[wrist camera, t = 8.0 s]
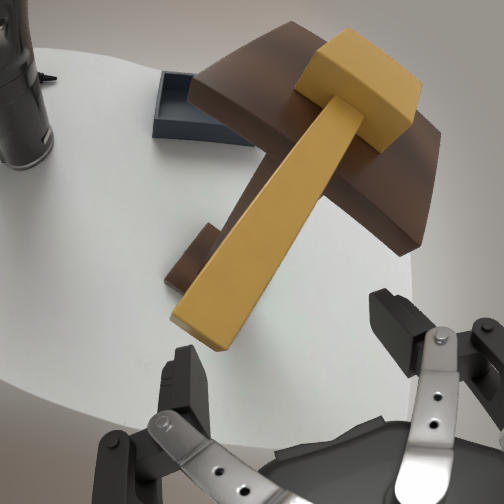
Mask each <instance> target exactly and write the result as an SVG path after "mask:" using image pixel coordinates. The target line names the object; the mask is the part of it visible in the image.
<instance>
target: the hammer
mask: <svg viewBox="0 0 504 504" xmlns="http://www.w3.org/2000/svg"><path fill="white" fill-rule="evenodd" d="M421 87H422V83H421V82H420V81H419V80H418V79H416V78H415V77H414V76H413V75H412V74H411V73H409V72H408V71H407V70H405V68H403V67H402V66H401V65H400V64H398V63H397V62H396V61H394V60H393V59H392V58H391V57H389V56H388V55H387V54H386V53H384V52H383V51H382V50H380V49H379V48H378V47H376V46H375V45H373V44H372V43H370V42H369V41H368V40H366V39H365V38H363V37H362V36H360V35H359V34H358V33H356V32H355V31H353V30H351V29H350V28H347V29H345V30H344V31H342V32H341V33H340V34H338V35H337V36H336V37H334V38H333V39H331V40H330V41H329V42H327V43H326V44H325V45H323V46H322V47H321V48H319V49H318V50H317V51H316V52H315V54H314V55H313V57H312V59H311V60H310V62H309V64H308V65H307V67H306V69H305V70H304V72H303V74H302V75H301V77H300V79H299V80H298V82H297V84H296V85H295V87H294V89H295V90H296V91H297V92H299V93H300V94H302V95H303V96H305V97H306V98H308V99H309V100H311V101H312V102H314V103H315V104H316V105H318V106H319V107H321V108H322V109H323V110H322V112H321V113H320V114H319V115H318V117H317V118H316V119H315V121H314V122H313V123H312V124H311V126H310V127H309V128H308V129H307V131H306V132H305V133H304V135H303V136H302V137H301V138H300V140H299V141H298V142H297V144H296V145H295V146H294V147H293V149H292V150H291V151H290V153H289V154H288V155H287V156H286V158H285V159H284V160H283V162H282V163H281V164H280V166H279V167H278V168H277V170H276V171H275V172H274V173H273V175H272V176H271V177H270V179H269V180H268V181H267V183H266V184H265V185H264V187H263V188H262V189H261V191H260V192H259V193H258V195H257V196H256V197H255V199H254V200H253V201H252V203H251V204H250V205H249V207H248V208H247V209H246V211H245V212H244V213H243V215H242V216H241V217H240V219H239V220H238V221H237V223H236V224H235V225H234V227H233V228H232V229H231V231H230V232H229V234H228V235H227V236H226V238H225V239H224V240H223V242H222V243H221V244H220V246H219V247H218V249H217V250H216V251H215V253H214V254H213V255H212V257H211V258H210V260H209V261H208V262H207V264H206V265H205V266H204V268H203V269H202V271H201V272H200V273H199V275H198V276H197V278H196V279H195V280H194V282H193V283H192V285H191V286H190V287H189V289H188V290H187V292H186V293H185V294H184V296H183V297H182V299H181V300H180V301H179V303H178V304H177V306H176V307H175V308H174V310H173V311H172V314H171V316H170V321H172V322H173V323H174V324H176V325H177V326H179V327H180V328H182V329H183V330H184V331H186V332H187V333H189V334H190V335H192V336H193V337H195V338H196V339H198V340H199V341H200V342H202V343H203V344H205V345H206V346H208V347H209V348H211V349H213V350H214V351H216V352H220V351H227V350H228V349H229V347H230V346H231V344H232V342H233V341H234V339H235V338H236V336H237V335H238V333H239V331H240V330H241V328H242V326H243V325H244V323H245V322H246V320H247V318H248V317H249V315H250V314H251V312H252V310H253V309H254V307H255V305H256V304H257V302H258V301H259V299H260V297H261V296H262V294H263V292H264V291H265V289H266V287H267V286H268V284H269V282H270V281H271V279H272V278H273V276H274V274H275V273H276V271H277V269H278V268H279V266H280V264H281V263H282V261H283V259H284V258H285V256H286V254H287V252H288V251H289V249H290V247H291V246H292V244H293V242H294V241H295V239H296V237H297V236H298V234H299V232H300V230H301V229H302V227H303V225H304V224H305V222H306V220H307V219H308V217H309V215H310V213H311V212H312V210H313V208H314V206H315V205H316V203H317V201H318V200H319V198H320V196H321V194H322V193H323V191H324V189H325V187H326V186H327V184H328V182H329V180H330V179H331V177H332V175H333V173H334V171H335V170H336V168H337V166H338V164H339V163H340V161H341V159H342V157H343V155H344V154H345V152H346V150H347V148H348V147H349V145H350V143H351V141H352V139H353V138H354V136H355V134H357V135H358V136H359V137H360V138H362V139H363V140H364V141H365V142H367V143H368V144H369V145H370V146H372V147H373V148H374V149H375V150H376V151H378V152H379V153H382V152H383V151H384V150H385V149H386V148H387V147H388V146H389V145H390V144H392V143H393V142H394V141H395V140H396V139H397V138H398V137H399V136H400V135H401V134H402V133H403V132H404V131H405V130H407V129H408V128H409V127H410V126H411V125H412V123H413V120H414V116H415V112H416V108H417V104H418V100H419V95H420V91H421Z"/></svg>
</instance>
